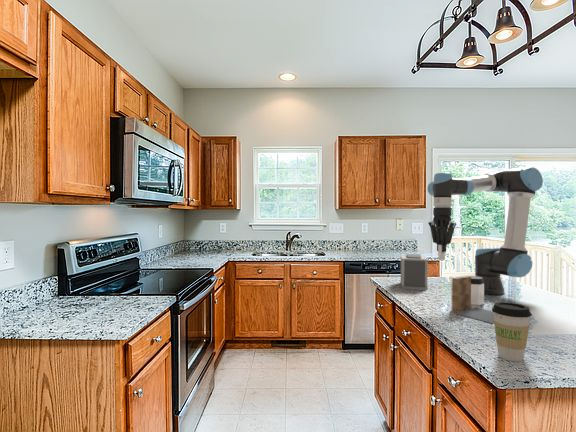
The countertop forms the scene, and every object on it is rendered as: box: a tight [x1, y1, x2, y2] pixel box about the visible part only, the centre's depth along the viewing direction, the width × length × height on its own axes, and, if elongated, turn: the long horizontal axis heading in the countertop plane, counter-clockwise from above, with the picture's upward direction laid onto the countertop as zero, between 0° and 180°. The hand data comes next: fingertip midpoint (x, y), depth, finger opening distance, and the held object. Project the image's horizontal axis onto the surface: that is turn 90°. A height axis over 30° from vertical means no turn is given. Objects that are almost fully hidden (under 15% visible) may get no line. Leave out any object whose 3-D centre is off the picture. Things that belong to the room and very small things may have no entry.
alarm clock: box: [400, 253, 429, 291], centre depth 201 cm, size 18×13×18 cm
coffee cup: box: [491, 301, 533, 363], centre depth 103 cm, size 10×10×15 cm
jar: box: [469, 275, 485, 306], centre depth 164 cm, size 9×8×12 cm
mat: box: [453, 307, 494, 325], centre depth 144 cm, size 16×16×1 cm
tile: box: [450, 275, 472, 312], centre depth 153 cm, size 10×2×14 cm, turn 121°
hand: (441, 258), depth 161 cm, fingers closed
